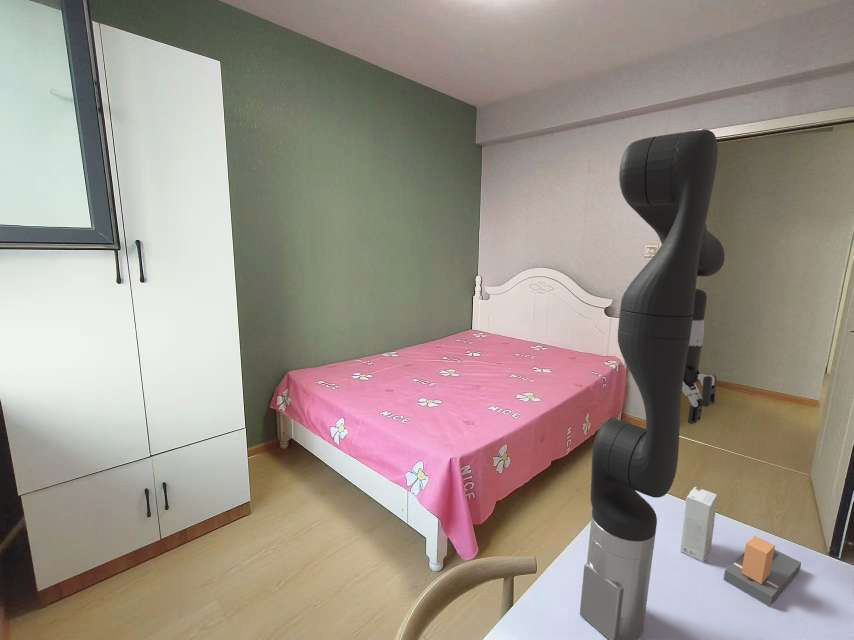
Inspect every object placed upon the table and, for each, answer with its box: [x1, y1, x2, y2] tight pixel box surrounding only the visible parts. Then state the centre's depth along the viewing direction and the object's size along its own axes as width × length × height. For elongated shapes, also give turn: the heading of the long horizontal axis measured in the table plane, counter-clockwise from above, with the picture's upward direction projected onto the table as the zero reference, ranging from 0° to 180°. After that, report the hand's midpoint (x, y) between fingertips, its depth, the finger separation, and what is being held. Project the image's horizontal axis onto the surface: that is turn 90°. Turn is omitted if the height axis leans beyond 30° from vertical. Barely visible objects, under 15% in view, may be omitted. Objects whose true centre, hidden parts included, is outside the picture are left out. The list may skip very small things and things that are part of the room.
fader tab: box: [741, 535, 776, 584], centre depth 74 cm, size 4×3×6 cm
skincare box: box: [680, 486, 718, 563], centre depth 82 cm, size 6×4×12 cm
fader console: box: [723, 549, 802, 607], centre depth 77 cm, size 15×7×2 cm, turn 123°
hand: (670, 415), depth 85 cm, fingers open, 8 cm apart
